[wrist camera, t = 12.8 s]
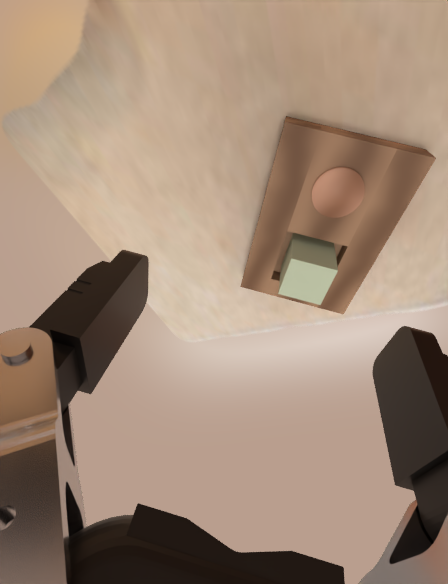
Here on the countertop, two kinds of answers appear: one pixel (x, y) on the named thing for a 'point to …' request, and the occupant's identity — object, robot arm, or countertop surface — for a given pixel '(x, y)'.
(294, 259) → the green block
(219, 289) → the countertop surface
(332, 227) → the puzzle board
